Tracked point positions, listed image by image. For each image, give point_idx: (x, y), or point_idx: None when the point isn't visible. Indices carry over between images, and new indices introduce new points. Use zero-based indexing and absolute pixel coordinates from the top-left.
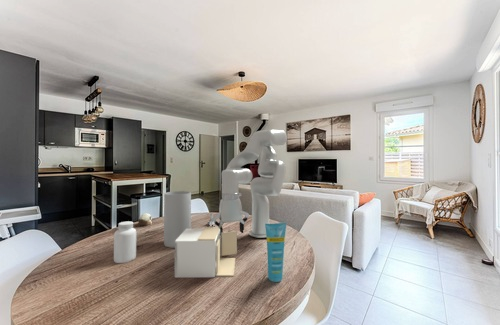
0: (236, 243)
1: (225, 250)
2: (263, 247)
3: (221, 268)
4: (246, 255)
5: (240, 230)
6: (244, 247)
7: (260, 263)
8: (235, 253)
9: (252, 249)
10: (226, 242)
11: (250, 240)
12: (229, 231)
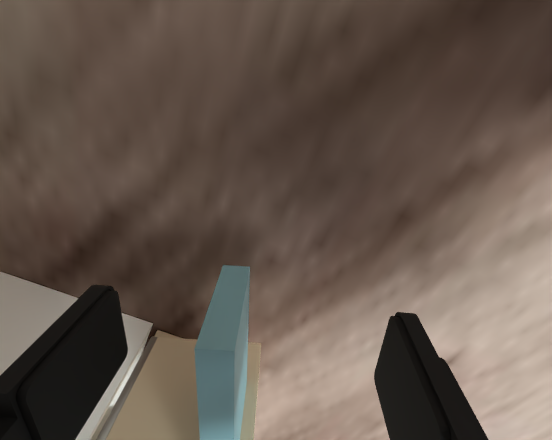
0: (252, 417)
1: (171, 372)
2: (507, 291)
3: None
4: (325, 344)
5: (388, 355)
6: (380, 234)
7: (345, 432)
8: (252, 349)
9: (412, 288)
10: (155, 434)
11: (533, 104)
12: (209, 378)
